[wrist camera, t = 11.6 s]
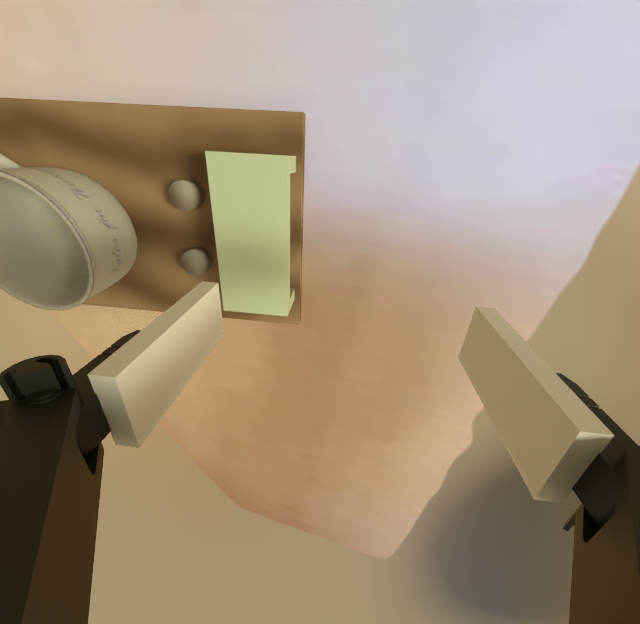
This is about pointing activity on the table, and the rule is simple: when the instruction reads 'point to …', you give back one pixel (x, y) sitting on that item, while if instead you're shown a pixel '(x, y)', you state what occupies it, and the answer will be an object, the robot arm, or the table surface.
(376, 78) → the table surface
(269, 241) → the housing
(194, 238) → the board
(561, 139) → the table surface
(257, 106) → the table surface
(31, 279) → the teacup
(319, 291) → the table surface
